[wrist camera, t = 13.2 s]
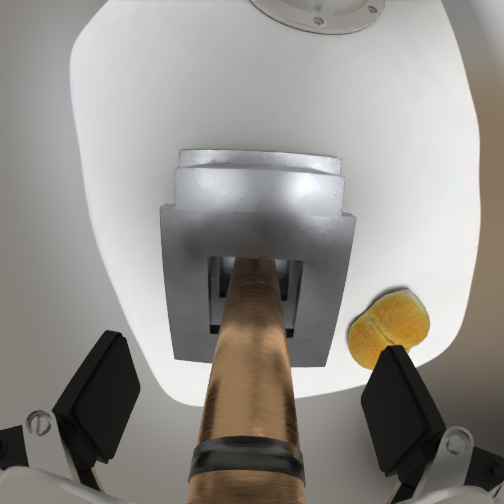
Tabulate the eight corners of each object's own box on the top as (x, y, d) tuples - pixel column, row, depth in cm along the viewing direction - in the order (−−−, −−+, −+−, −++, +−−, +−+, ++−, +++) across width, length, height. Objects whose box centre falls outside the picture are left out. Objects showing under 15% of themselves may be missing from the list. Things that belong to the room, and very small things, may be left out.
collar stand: (182, 150, 20) (137, 150, 12) (337, 158, 20) (383, 162, 12) (187, 308, 25) (160, 372, 17) (316, 315, 24) (337, 381, 17)
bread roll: (330, 338, 26) (339, 364, 22) (394, 273, 23) (413, 293, 19) (376, 367, 27) (386, 391, 24) (432, 314, 25) (449, 334, 21)
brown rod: (235, 235, 21) (161, 551, 2) (276, 237, 21) (328, 557, 2) (234, 273, 22) (186, 559, 3) (273, 274, 22) (298, 563, 3)
